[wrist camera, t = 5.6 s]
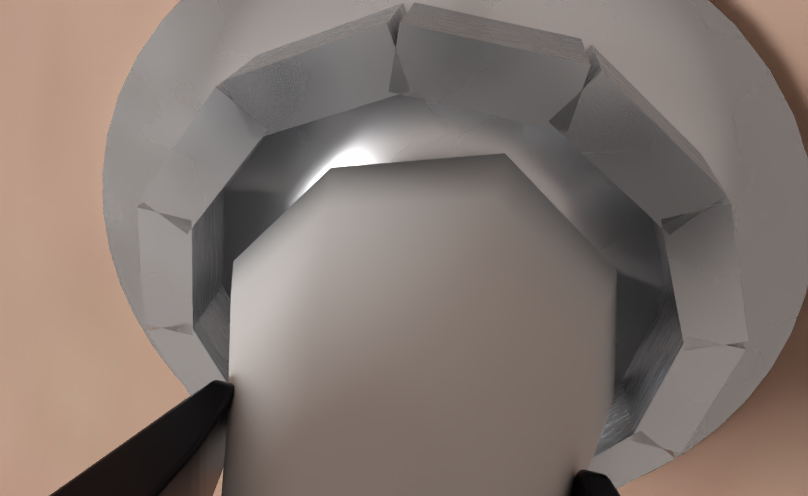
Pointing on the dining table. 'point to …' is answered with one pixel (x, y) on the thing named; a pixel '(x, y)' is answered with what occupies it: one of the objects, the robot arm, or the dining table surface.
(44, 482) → the dining table surface
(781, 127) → the duct flange
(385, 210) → the flask
